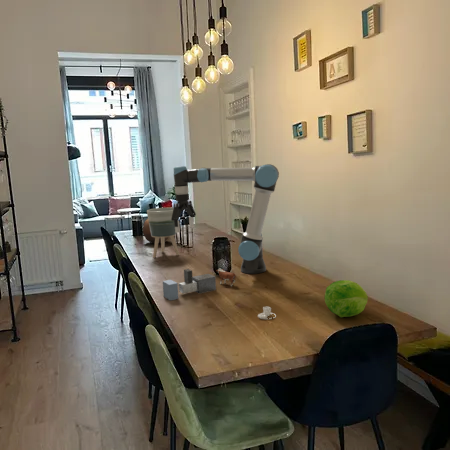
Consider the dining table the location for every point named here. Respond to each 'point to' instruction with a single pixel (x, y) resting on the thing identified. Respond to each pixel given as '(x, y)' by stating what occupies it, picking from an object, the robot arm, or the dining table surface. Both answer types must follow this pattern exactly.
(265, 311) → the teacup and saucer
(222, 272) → the bull figurine
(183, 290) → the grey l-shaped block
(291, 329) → the dining table surface
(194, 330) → the dining table surface
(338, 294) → the lettuce
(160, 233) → the planter
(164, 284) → the blue-grey block
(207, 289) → the grey rectangular block
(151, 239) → the pottery
